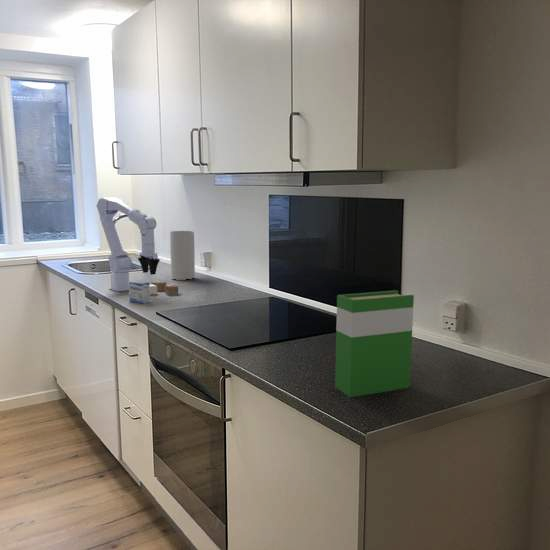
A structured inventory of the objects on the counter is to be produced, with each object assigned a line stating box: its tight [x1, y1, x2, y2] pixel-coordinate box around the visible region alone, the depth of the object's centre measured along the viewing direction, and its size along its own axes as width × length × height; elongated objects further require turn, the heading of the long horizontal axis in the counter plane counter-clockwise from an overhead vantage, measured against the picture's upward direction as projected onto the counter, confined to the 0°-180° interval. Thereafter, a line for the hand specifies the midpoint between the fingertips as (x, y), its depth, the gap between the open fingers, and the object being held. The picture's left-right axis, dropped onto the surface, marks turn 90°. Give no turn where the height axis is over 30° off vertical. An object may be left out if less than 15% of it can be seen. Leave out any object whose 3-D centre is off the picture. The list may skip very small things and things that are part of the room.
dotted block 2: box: [164, 283, 179, 296], centre depth 273 cm, size 5×5×4 cm
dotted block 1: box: [151, 280, 167, 292], centre depth 282 cm, size 5×5×4 cm
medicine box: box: [128, 280, 151, 304], centre depth 254 cm, size 8×4×9 cm, turn 62°
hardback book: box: [334, 289, 415, 398], centre depth 149 cm, size 18×7×24 cm, turn 114°
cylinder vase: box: [169, 230, 196, 281], centre depth 314 cm, size 12×12×25 cm
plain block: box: [150, 284, 158, 296], centre depth 273 cm, size 5×5×4 cm
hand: (149, 273), depth 271 cm, fingers open, 7 cm apart
